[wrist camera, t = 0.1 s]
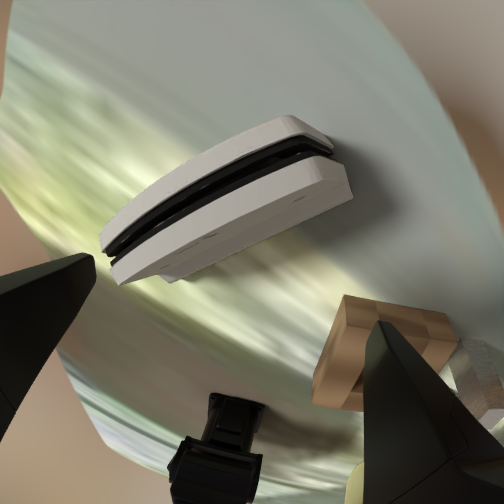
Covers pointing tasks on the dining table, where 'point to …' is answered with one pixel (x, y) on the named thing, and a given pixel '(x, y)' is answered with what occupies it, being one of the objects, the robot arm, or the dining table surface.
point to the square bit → (477, 382)
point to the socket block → (354, 341)
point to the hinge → (225, 202)
